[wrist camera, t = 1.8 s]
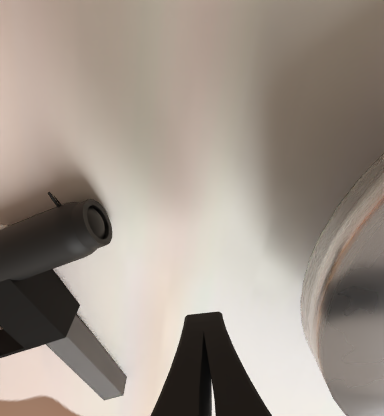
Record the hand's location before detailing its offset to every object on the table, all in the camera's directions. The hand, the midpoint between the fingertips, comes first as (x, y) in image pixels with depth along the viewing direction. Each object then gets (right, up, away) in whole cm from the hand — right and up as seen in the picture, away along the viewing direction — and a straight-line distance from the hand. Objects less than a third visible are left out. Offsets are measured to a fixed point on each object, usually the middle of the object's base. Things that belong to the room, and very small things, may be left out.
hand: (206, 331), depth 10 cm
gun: (-13, -3, +9) cm, 16 cm away
